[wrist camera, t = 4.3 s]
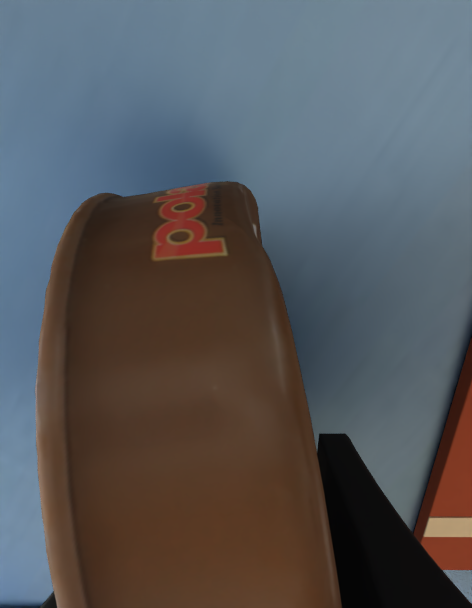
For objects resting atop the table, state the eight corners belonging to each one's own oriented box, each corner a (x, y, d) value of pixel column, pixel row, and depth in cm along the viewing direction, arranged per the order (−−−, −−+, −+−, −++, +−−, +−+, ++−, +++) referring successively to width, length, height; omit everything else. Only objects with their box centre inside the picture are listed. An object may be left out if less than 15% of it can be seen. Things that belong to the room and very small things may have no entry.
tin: (128, 150, 10) (-241, 446, 2) (272, 126, 9) (348, 386, 2) (236, 560, 17) (225, 947, 10) (320, 554, 17) (375, 950, 9)
